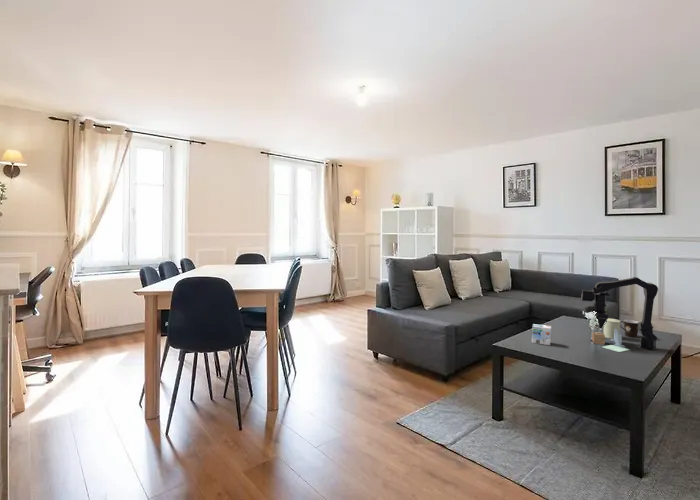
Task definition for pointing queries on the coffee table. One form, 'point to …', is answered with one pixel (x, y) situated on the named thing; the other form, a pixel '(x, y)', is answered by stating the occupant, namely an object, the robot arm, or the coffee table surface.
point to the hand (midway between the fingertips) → (599, 326)
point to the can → (611, 327)
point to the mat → (615, 348)
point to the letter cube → (598, 338)
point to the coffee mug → (630, 328)
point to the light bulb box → (541, 334)
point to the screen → (617, 338)
